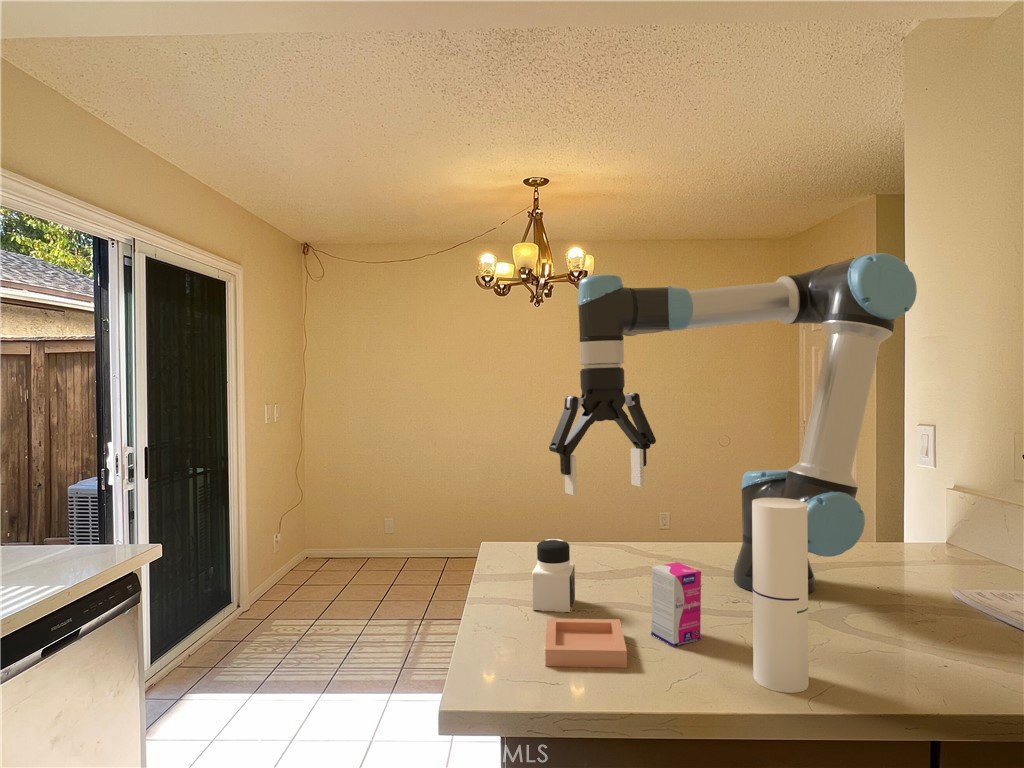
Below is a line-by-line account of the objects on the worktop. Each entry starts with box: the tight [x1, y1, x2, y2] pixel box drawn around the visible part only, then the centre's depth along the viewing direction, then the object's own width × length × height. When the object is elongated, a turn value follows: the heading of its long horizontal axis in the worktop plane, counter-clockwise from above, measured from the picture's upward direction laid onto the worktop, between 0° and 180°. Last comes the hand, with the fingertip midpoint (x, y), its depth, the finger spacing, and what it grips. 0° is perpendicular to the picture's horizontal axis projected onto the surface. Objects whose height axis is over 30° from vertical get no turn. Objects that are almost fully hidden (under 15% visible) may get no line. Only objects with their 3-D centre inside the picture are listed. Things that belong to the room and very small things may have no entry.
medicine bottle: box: [531, 538, 576, 613], centre depth 121 cm, size 7×7×12 cm
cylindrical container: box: [752, 498, 810, 694], centre depth 91 cm, size 7×7×25 cm
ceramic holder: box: [544, 618, 628, 669], centre depth 102 cm, size 12×12×2 cm
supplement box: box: [650, 561, 702, 648], centre depth 106 cm, size 6×6×12 cm
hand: (605, 489), depth 112 cm, fingers open, 13 cm apart
